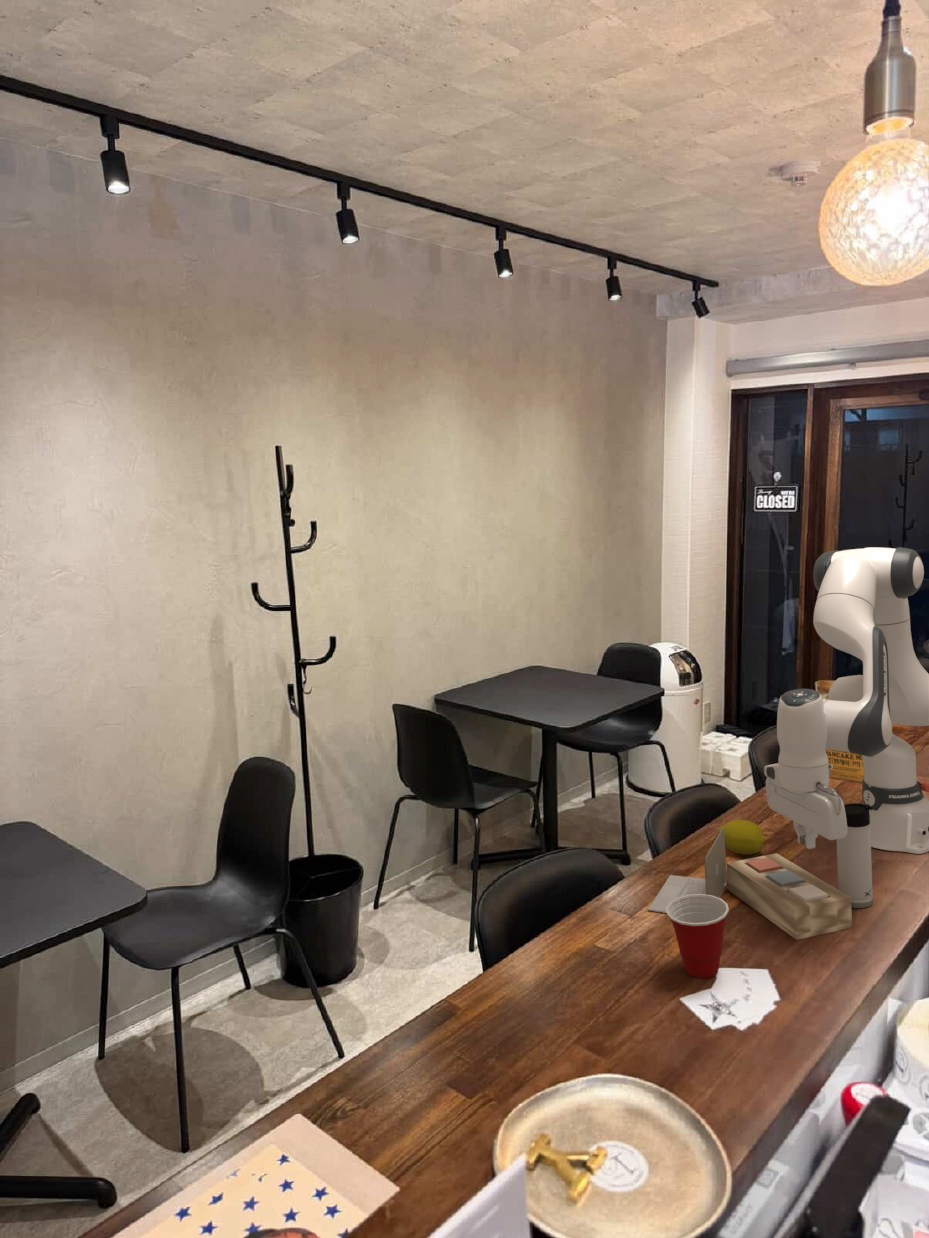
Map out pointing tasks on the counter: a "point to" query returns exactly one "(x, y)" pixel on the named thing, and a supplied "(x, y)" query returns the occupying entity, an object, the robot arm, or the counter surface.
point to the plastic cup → (699, 931)
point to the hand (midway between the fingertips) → (806, 845)
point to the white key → (808, 893)
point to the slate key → (785, 878)
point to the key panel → (790, 899)
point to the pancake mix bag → (842, 762)
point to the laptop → (696, 879)
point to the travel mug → (856, 856)
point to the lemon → (743, 837)
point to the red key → (763, 865)
